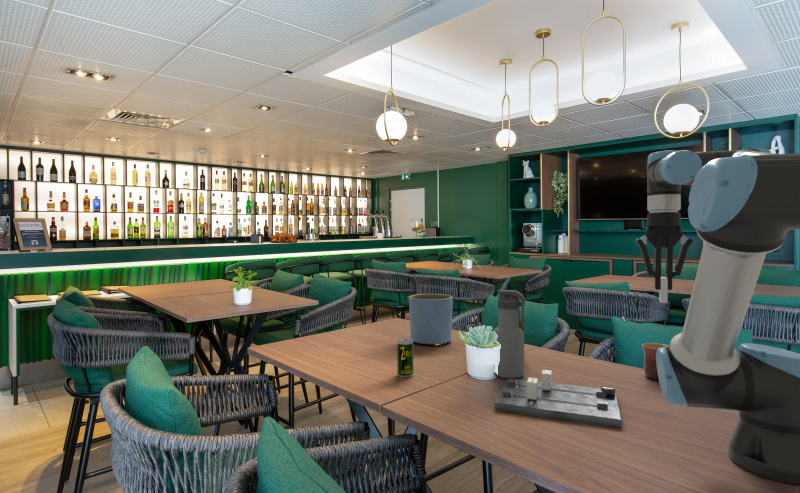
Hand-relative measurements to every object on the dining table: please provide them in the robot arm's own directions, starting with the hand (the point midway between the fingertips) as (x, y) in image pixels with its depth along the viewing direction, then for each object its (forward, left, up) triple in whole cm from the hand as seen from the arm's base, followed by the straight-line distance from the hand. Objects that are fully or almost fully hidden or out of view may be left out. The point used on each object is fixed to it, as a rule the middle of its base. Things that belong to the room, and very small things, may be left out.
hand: (663, 302), depth 116 cm
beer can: (+3, +74, -29) cm, 79 cm away
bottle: (+34, +43, -29) cm, 62 cm away
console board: (-5, +26, -28) cm, 39 cm away
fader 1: (-9, +32, -26) cm, 42 cm away
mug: (+28, -3, -29) cm, 40 cm away
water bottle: (+16, +42, -29) cm, 53 cm away
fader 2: (0, +29, -26) cm, 39 cm away
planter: (+51, +81, -29) cm, 100 cm away
